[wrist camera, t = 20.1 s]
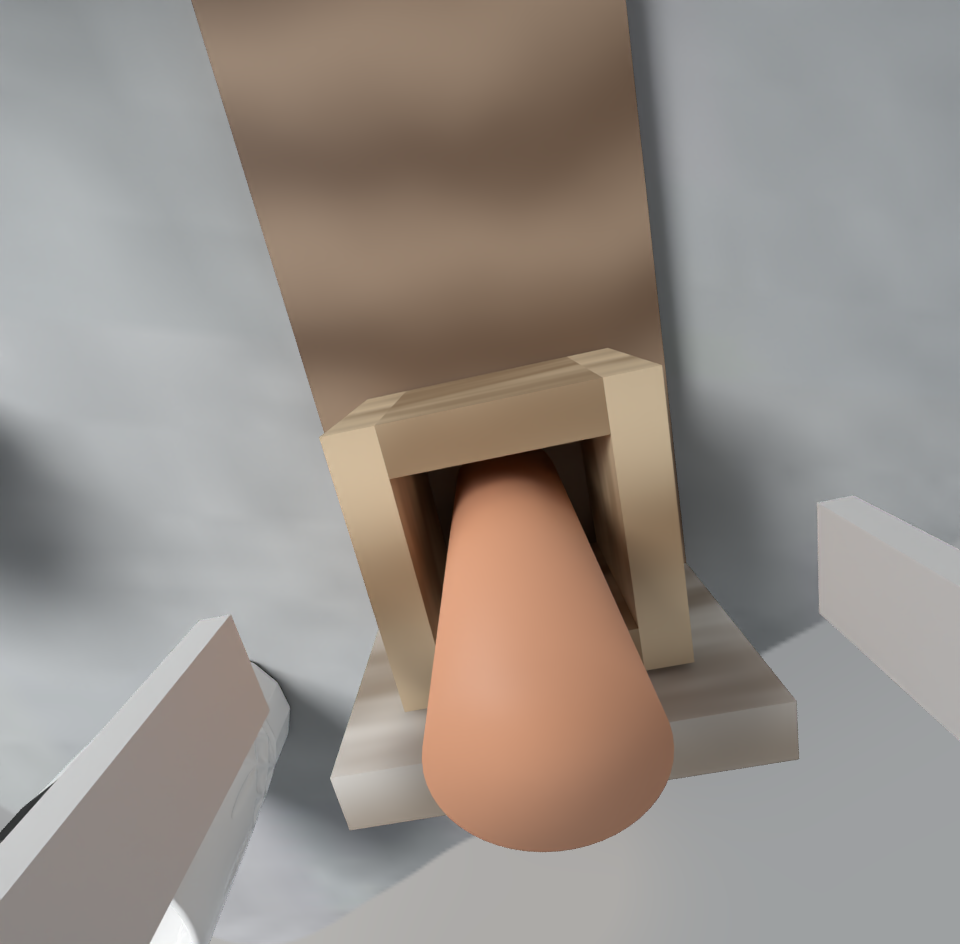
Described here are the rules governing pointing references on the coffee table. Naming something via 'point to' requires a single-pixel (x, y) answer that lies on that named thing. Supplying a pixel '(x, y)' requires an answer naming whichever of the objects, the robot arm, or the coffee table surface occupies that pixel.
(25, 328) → the coffee table surface
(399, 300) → the board
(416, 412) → the open wooden box
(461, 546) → the dowel
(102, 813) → the robot arm
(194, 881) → the white cup
